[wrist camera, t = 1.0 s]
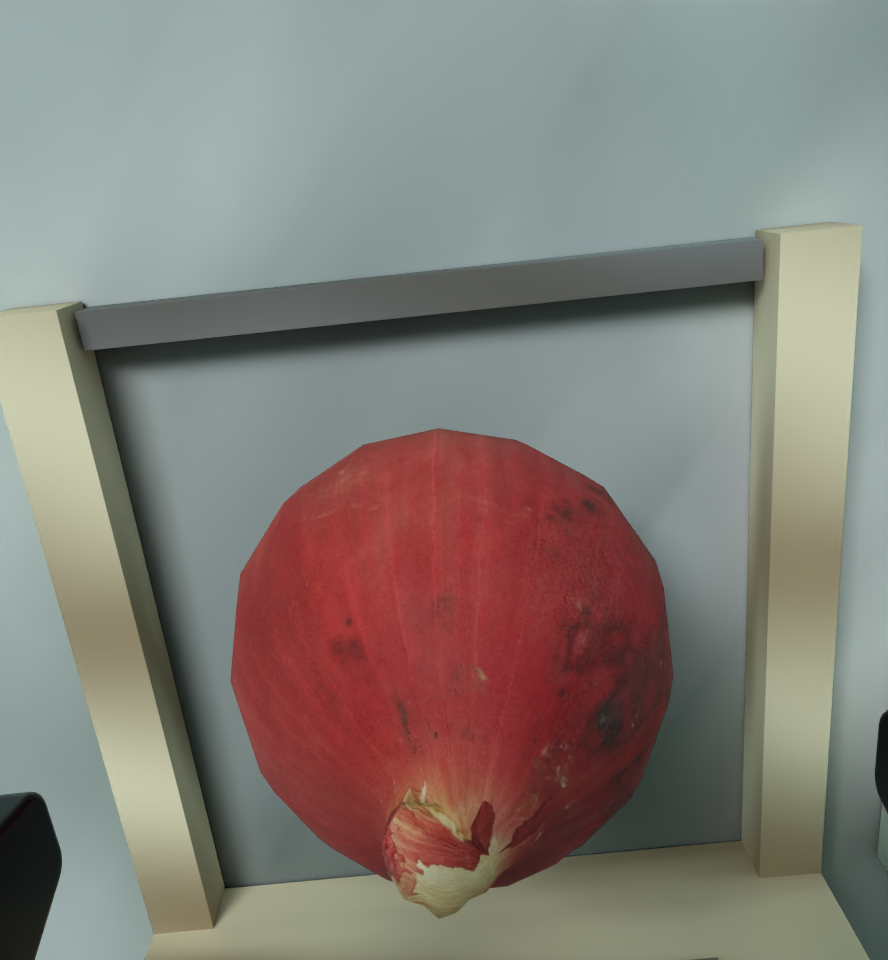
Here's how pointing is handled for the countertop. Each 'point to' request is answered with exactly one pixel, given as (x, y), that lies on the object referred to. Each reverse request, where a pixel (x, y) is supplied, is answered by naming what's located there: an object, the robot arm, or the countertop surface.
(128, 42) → the countertop surface
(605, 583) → the onion
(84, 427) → the open rectangular frame
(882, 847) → the tray
